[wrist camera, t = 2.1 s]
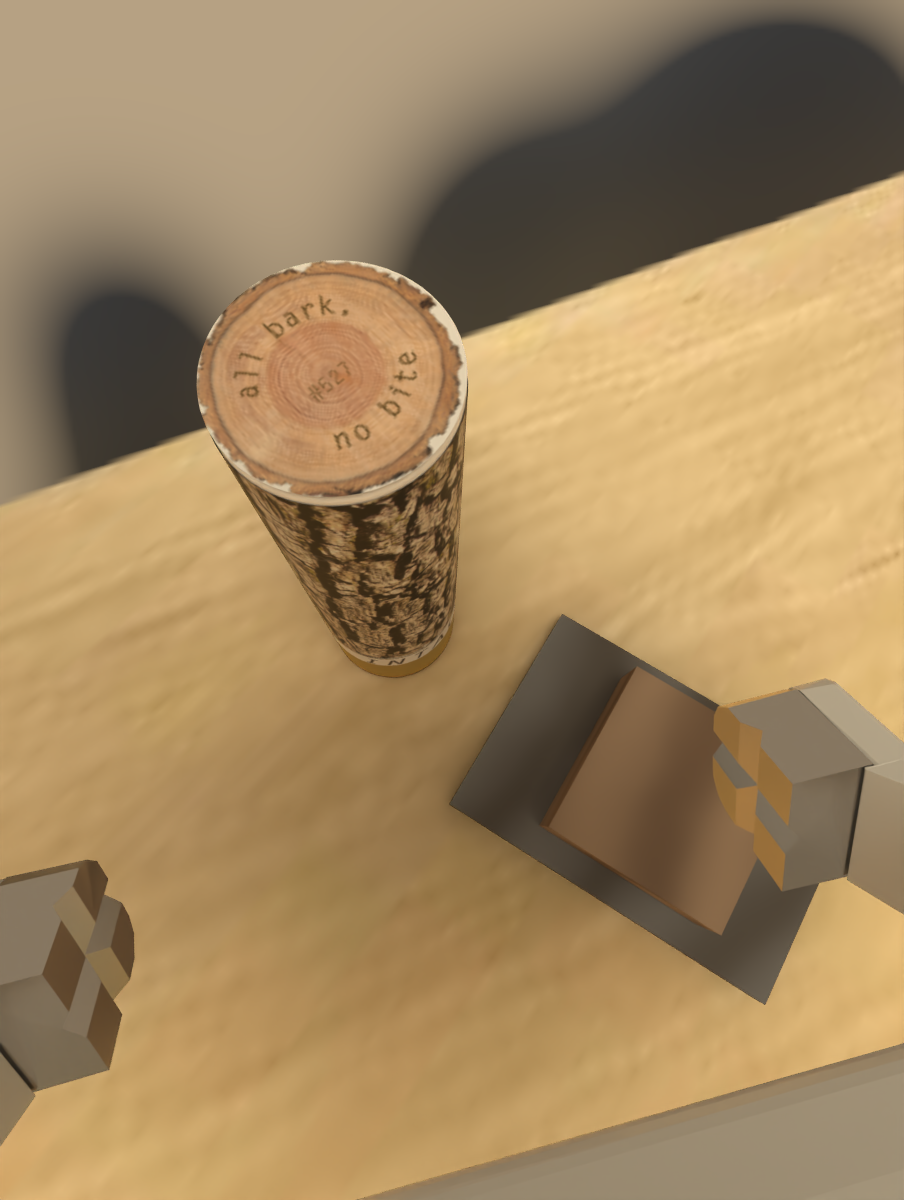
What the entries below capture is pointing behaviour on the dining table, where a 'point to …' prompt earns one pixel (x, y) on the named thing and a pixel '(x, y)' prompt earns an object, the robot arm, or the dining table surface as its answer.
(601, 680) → the plinth
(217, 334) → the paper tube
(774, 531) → the dining table surface
